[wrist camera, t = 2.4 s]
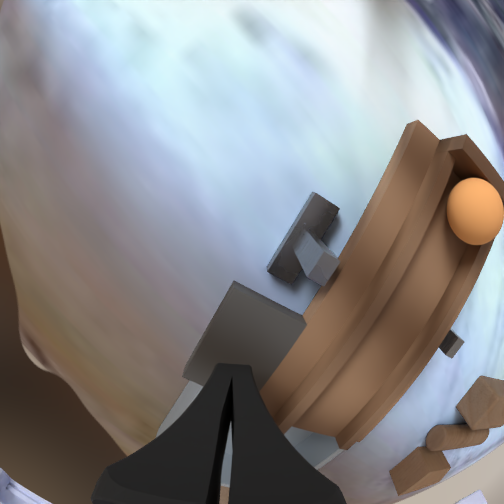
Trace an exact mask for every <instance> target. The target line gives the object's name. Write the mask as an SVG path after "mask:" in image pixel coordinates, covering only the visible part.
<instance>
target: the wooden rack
mask: <svg viewBox="0 0 504 504" xmlns="http://www.w3.org/2000/svg"><path fill="white" fill-rule="evenodd" d="M467 178H479V179H483V180H485V181H487V182H488V183H490V184H491V185H492V186H493V187H494V188H495V189H496V190H497V192H498V193H499V195H500V197H501V200H502V203H503V207H504V181H503V180H502V178H501V177H500V175H499V174H498V173H497V171H496V170H495V169H494V167H493V166H492V165H491V163H490V162H489V161H488V159H487V158H486V157H485V156H484V154H483V153H482V152H481V151H480V149H479V148H478V147H477V146H476V145H475V143H474V142H473V141H472V140H471V139H470V138H469V136H468V135H467V134H466V135H461V136H456V137H451V138H447V139H442V140H439V139H438V138H437V137H436V136H435V135H434V134H433V133H432V132H431V131H430V130H429V129H428V128H426V127H425V126H424V125H423V124H422V123H421V122H420V121H419V120H416V121H414V122H411V123H408V124H407V125H406V127H405V130H404V132H403V134H402V136H401V138H400V141H399V143H398V145H397V147H396V149H395V151H394V154H393V156H392V158H391V160H390V162H389V164H388V166H387V168H386V170H385V172H384V174H383V176H382V178H381V180H380V182H379V184H378V186H377V188H376V190H375V192H374V194H373V196H372V198H371V200H370V202H369V204H368V205H367V207H366V209H365V211H364V213H363V215H362V217H361V218H360V220H359V222H358V224H357V226H356V228H355V229H354V231H353V233H352V235H351V236H350V238H349V240H348V242H347V244H346V245H345V247H344V249H343V250H342V252H341V254H340V256H339V257H338V259H339V260H340V261H341V262H340V263H339V265H338V266H337V268H336V269H335V271H334V272H333V274H332V275H331V277H330V278H329V280H328V281H327V283H326V284H325V286H324V287H323V286H321V287H320V289H319V290H318V292H317V294H316V295H315V297H314V298H313V300H312V302H311V303H310V305H309V306H308V308H307V309H306V311H305V312H304V314H303V315H300V314H298V313H296V312H294V311H292V310H290V309H288V308H286V307H284V306H282V305H280V304H278V303H276V302H274V301H272V300H270V299H269V298H267V297H265V296H263V295H261V294H259V293H257V292H255V291H253V290H251V289H249V288H247V287H245V286H244V285H242V284H240V283H238V282H236V281H233V283H232V285H231V286H230V288H229V290H228V292H227V293H226V295H225V297H224V299H223V300H222V302H221V304H220V306H219V307H218V309H217V311H216V313H215V314H214V316H213V318H212V320H211V321H210V323H209V325H208V327H207V328H206V330H205V332H204V334H203V335H202V337H201V339H200V341H199V342H198V344H197V346H196V348H195V349H194V351H193V353H192V355H191V356H190V358H189V360H188V362H187V364H186V365H185V369H184V372H183V376H182V377H184V378H186V379H188V380H190V381H192V382H195V383H197V384H199V385H201V386H203V387H204V385H205V384H206V382H207V380H208V379H209V377H210V375H211V373H212V372H213V370H214V367H215V365H216V364H217V363H228V364H243V365H250V366H251V367H252V372H253V376H254V379H255V382H256V385H257V388H258V390H259V393H260V395H261V397H262V399H263V401H264V403H265V405H266V407H267V409H268V411H269V413H270V414H271V416H272V418H273V419H274V421H275V423H276V424H277V426H278V427H279V429H280V430H281V431H282V433H283V434H285V433H286V432H287V431H288V430H289V429H290V428H291V427H295V428H299V429H303V430H307V431H310V432H314V433H319V434H323V435H327V436H331V437H335V439H336V441H337V444H338V447H339V449H343V450H348V449H349V448H350V447H351V446H352V445H353V444H354V443H355V442H360V441H361V440H362V439H363V438H364V437H365V436H366V435H367V434H368V433H369V432H370V431H371V430H372V429H373V428H374V427H375V426H376V425H377V424H378V423H379V422H380V421H381V420H382V419H383V418H384V417H385V415H386V414H387V413H388V412H389V411H390V410H391V409H392V408H393V406H394V405H395V404H396V403H397V402H398V401H399V399H400V398H401V397H402V396H403V395H404V393H405V392H406V391H407V390H408V388H409V387H410V386H411V385H412V383H413V382H414V381H415V379H416V378H417V377H418V376H419V374H420V373H421V372H422V370H423V369H424V367H425V366H426V365H427V363H428V362H429V360H430V359H431V358H432V356H433V355H434V353H435V352H436V350H437V349H438V347H439V346H440V344H441V343H442V341H443V340H444V338H445V336H446V335H447V333H448V332H449V330H450V328H451V327H452V325H453V323H454V322H455V320H456V318H457V317H458V315H459V313H460V311H461V310H462V308H463V306H464V304H465V302H466V300H467V298H468V297H469V295H470V293H471V291H472V289H473V287H474V285H475V283H476V281H477V279H478V276H479V274H480V272H481V270H482V268H483V266H484V263H485V261H486V259H487V256H488V254H489V252H490V249H491V247H492V244H493V241H494V239H495V238H494V239H492V240H491V241H490V242H488V243H486V244H483V245H471V244H468V243H466V242H464V241H462V240H461V239H460V238H458V237H457V236H456V234H455V233H454V232H453V230H452V229H451V227H450V224H449V222H448V218H447V201H448V197H449V195H450V193H451V191H452V189H453V188H454V187H455V186H456V185H457V184H458V183H459V182H461V181H462V180H465V179H467Z"/></svg>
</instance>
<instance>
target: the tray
mask: <svg viewBox="0 0 504 504" xmlns="http://www.w3.org/2000/svg"><path fill="white" fill-rule="evenodd" d="M202 388H203V386H201V385H199V384H197V383H195V382H192V381H189V382H188V384H187V385H186V387H185V389H184V390H183V392H182V393H181V395H180V396H179V398H178V399H177V401H176V403H175V404H174V406H173V407H172V409H171V410H170V412H169V413H168V415H167V416H166V418H165V419H164V421H163V423H162V424H161V426H160V427H159V430H158V433H157V436H156V437H158V436H159V435H160V434H161V433H163V432H164V431H165V430H166V429H167V428H168V427H169V426H171V425H172V424H173V423H174V422H175V421H176V420H177V419H178V418H179V417H180V416H181V415H182V413H183V412H184V411H185V410H186V409H187V408H188V407H189V405H190V404H191V403H192V402H193V400H194V399H195V398H196V397H197V395H198V394H199V392H200V391H201V390H202ZM284 436H285V437H286V438H287V439H288V441H289V442H290V443H291V444H292V446H293V447H294V448H295V449H296V450H297V451H298V452H299V453H300V454H301V455H302V456H303V457H304V458H305V459H306V460H307V461H308V462H309V463H310V464H311V465H312V466H313V467H314V468H315V469H316V470H318V469H319V468H321V467H322V466H324V465H325V464H326V463H328V462H329V461H331V460H332V459H333V458H335V457H336V456H337V455H339V454H340V453H341V452H343V451H344V450H343V449H339V447H338V444H337V441H336V439H335V437H331V436H327V435H323V434H319V433H314V432H310V431H307V430H303V429H299V428H295V427H291V428H290V429H289V430H288V431H287V432H286V433H285V434H284ZM231 464H232V430H231V423H230V428H229V434H228V439H227V444H226V449H225V454H224V460H223V466H222V474H221V486H225V487H229V488H230V477H231Z"/></svg>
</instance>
